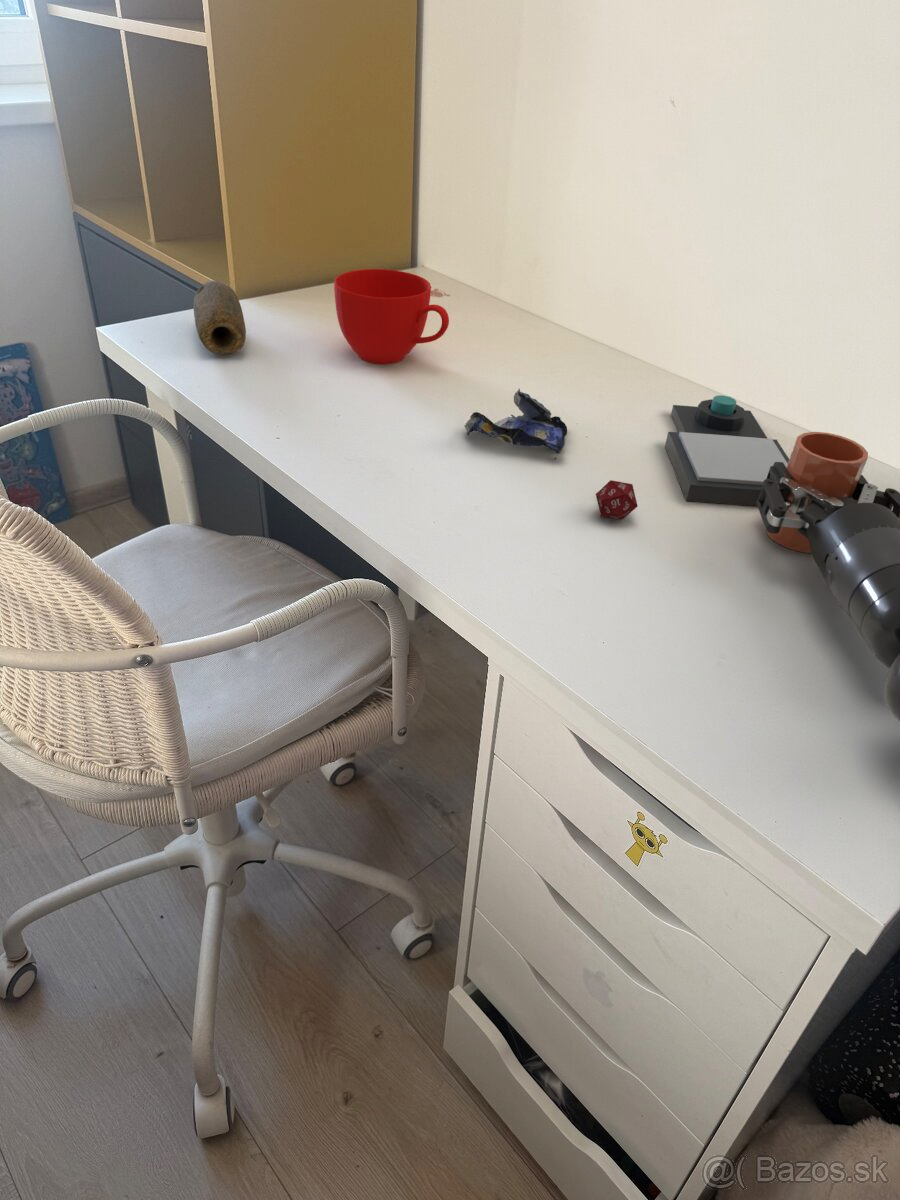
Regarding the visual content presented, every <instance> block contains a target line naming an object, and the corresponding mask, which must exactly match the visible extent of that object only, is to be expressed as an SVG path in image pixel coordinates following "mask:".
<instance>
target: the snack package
mask: <svg viewBox="0 0 900 1200" xmlns="http://www.w3.org/2000/svg"><path fill="white" fill-rule="evenodd" d="M513 403H514V405H515V406H516V408H517V409H518V410H519V411H520V412H521V413H522V415H517V416H515V415H514V414H510V416H507V417H505V418H502V419H500V420H497V421H496V422H495V423H494V422H493V421H492V420H490V419H489V418H488V417H487V416H486V415H484V414H483V413H480V412H478V411H475V412H472V414H471V415H470V417H469V419H468V420H467V421H466V422H465V423H464V424H463V426H464V428H465V430H466V435H468V436H469V435H470V433H473V432H477V433H479V434H482V435H484V436H487V437H491V438H495V439H497V440H500V441H503V442H505V443H508V444H510V445H513V446H520V447H546V448H547V449H549V450H551V451H554V452H555V453H556V454H560V453H561V451H562V450H563V448H564V447H565V437H566V436H567V434H568V426H567V425H566V423H565V422H564V421H563V420H562V419H561V417H560V416H556V415H555V416H552V413H551V411H550V409H548V408H547V407H545V405H544V404H543V403H541V402H539V401H538V399H536V398H533V397H531V396H530V394H528V393H526V392H523V391H521V389H520V388H518V390H517V391H516V392H515V393H514V395H513ZM551 416H552V417H551ZM556 459H557V457H555V458H554V460H556Z"/></svg>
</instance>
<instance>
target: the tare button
mask: <svg viewBox="0 0 900 1200" xmlns="http://www.w3.org/2000/svg"><path fill="white" fill-rule="evenodd" d="M712 399H713V401H712V405H711V408H710V410H711V411H713V412H715V413H719V414H722V415H731V414H733V413H734V409H735V406H736V404H737V400H736V399H735V398H733V397H731V396H729V395H722V394H721V395H720V394H719V395H715V396H713V398H712Z"/></svg>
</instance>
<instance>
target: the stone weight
mask: <svg viewBox="0 0 900 1200" xmlns="http://www.w3.org/2000/svg"><path fill="white" fill-rule="evenodd" d="M193 297H194V298H193V306H192V307H193V319H194V325H195V328H196V332H197V336H198V338H199V340H200V342H201V344H202V345H203V346H204V348H205V349H206V350H207V351H209V352H211V353H213V354H219V355H227V354H234V353H237V352H238V351H240V350H241V349H242V348H243V347H244V346H245V342H246V338H247V337H246V336H247V330H246V329H247V328H246V322H245V317H244V313H243V309H242V305H241V302H240V299H239V297H238V295H237V294H236V292H235V290H234V289H233V288H232V287H231V286H229V285H227V284H226V283H225V282H223V281H219V280H209V281H206V282H204V283H203V284H201V286H200V287H199V288H198V289H197V290H196V292H195V294H194V296H193Z"/></svg>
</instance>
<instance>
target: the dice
mask: <svg viewBox="0 0 900 1200" xmlns="http://www.w3.org/2000/svg"><path fill="white" fill-rule="evenodd" d="M595 497H596V501H597V506H598V510H599V514H600V517H604V518H609V519H616V520H620V521H621V520H622V521H623V520H624V519H625V518H626V517H627V516H628V515H630V514H631V513H632V512H633V511H634V510H635V509H637V508H638V506H639V505H638V501H637V498H636V493H635V489H634V485H633V483H629V482H623V481H619V480H613V479H609V481H608V482H607V483H606V484H604V486H603V487H602V488H601V489H600V490H598V491H597V492H596V493H595Z"/></svg>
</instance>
